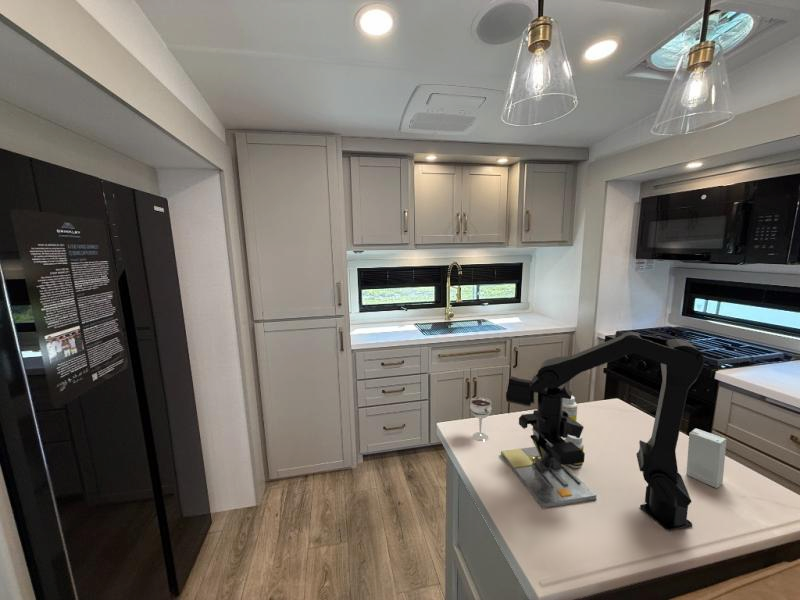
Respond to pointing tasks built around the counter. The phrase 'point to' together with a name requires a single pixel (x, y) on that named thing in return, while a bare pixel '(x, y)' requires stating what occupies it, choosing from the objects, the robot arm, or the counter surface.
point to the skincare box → (706, 457)
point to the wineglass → (480, 414)
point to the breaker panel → (551, 483)
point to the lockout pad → (517, 458)
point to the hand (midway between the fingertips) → (547, 466)
